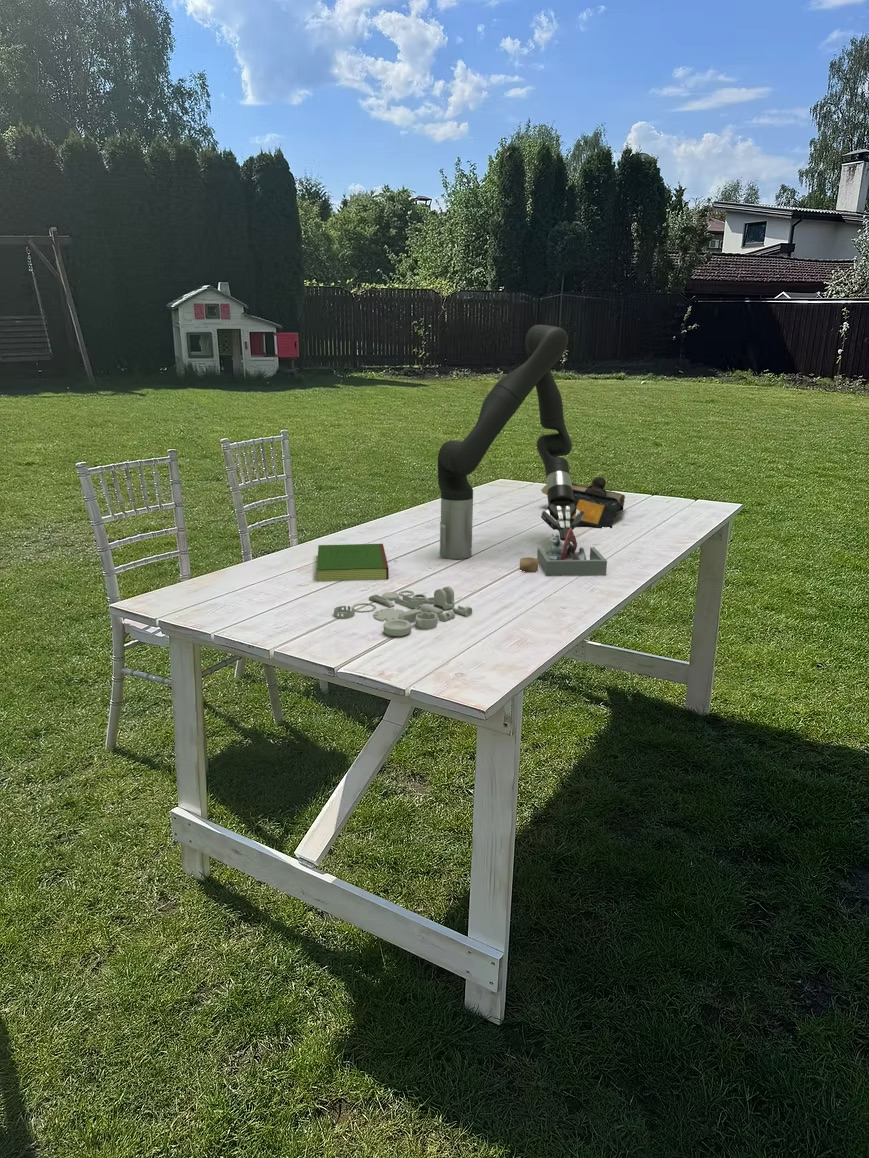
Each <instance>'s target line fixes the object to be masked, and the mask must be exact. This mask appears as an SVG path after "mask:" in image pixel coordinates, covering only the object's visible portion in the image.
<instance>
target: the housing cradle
mask: <svg viewBox="0 0 869 1158" xmlns="http://www.w3.org/2000/svg"><path fill="white" fill-rule="evenodd" d="M548 556H549V555H548V554H547V553H546V552H545V550H544V549H543V547H537V555H536V557H537V558H536V559H538V565H539V564H540V565H539V566H541V567H540V568H541V570H542V572H543V573H544V574H545V576H546V577H547V576H548V577H549V576H552V577H553V576H556V577H557V576H559V575H560V576H561V575H565V576H607V568H608V566H607V565H608V560H607V559H606V558H605V557H604V556H603V555H602V554H601V553H600V551H598V550H597V548H596V547H595V546H593V547H590V549H589V559H586V560H550V559H549V557H548Z"/></svg>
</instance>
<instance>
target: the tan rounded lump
mask: <svg viewBox="0 0 869 1158" xmlns="http://www.w3.org/2000/svg"><path fill="white" fill-rule="evenodd" d="M520 570H522V571H525V572H524V573H526V572H534V573H537V572H538V571H539V563H538V559H537V558H536V557H530V556H529V557H522V558H520V560H519V571H520ZM522 571H521V572H522ZM536 571H537V572H536Z"/></svg>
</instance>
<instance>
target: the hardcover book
mask: <svg viewBox="0 0 869 1158" xmlns="http://www.w3.org/2000/svg"><path fill="white" fill-rule="evenodd" d="M317 547H318V548H317V560H316V562H317V564H316V571H317V579H318V580H317V581H318V582H331V581H332V582H333V581H334V582H337V581H340V582H341V581H367V580H390V579H389V578H390V577H389V576H390V574H389V572H390V571H389V563H388V560H387V559H388V558H387V555H386V552H385V546H384V543H361V544H360V543H357V544H356V543H355V544H354V543H353V544H349V543H348V544H318V546H317Z"/></svg>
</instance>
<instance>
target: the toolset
mask: <svg viewBox="0 0 869 1158" xmlns="http://www.w3.org/2000/svg"><path fill="white" fill-rule="evenodd" d="M606 483H607V481H606V479H605V478H604V477H603V476H597V477H595V478H593V480H592V482H591V485H589V486H584V485H582V484H577V483H574V482H573V483H572V490H573V497H574V504H575V506H576V507H577V510H579V511H580V512H581V511H584V515H583V518H582V519H581V521H580V522H579V523H578V524H577V526H576V527H575V528H577V527H579V526H580V527H581V526H585V525H589V526H591V527H592V526H593V527H595V528H599V529H603V528H602V527H604V528H607V527H610V528H609V529H613V526H612V523H613V522H614V519H615V517H617V513H619V512H621V511H623V510H624V506H625V503H626V501H625V500H626V496H625V494H622V493H619V492H615V491H611V490H606V489H605V486H606ZM540 491H541V493H542V494H544V495H546V496H547V491H546V484H545V485H543V487H542V489H540ZM575 515H576V514H574V515H573V516H572V518H571V519H570V524H571V523H572V522H573V521H574V519H575V518H576V517H575Z"/></svg>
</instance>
